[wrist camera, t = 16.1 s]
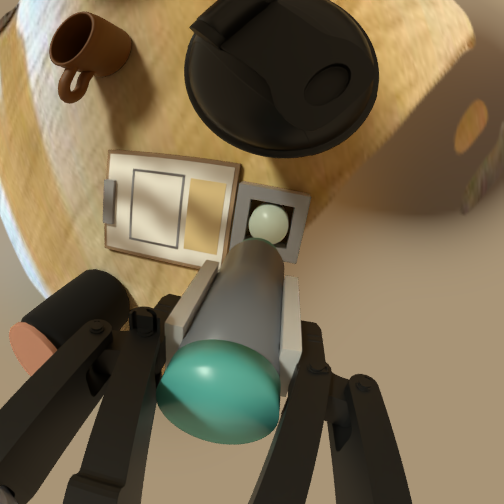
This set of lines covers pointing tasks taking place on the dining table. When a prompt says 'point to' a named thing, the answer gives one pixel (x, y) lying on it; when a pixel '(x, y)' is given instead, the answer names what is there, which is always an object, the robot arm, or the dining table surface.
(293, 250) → the button housing
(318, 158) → the dining table surface
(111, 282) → the coffee jar
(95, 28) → the mug
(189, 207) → the board
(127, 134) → the dining table surface
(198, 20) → the water bottle
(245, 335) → the marker
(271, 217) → the button
